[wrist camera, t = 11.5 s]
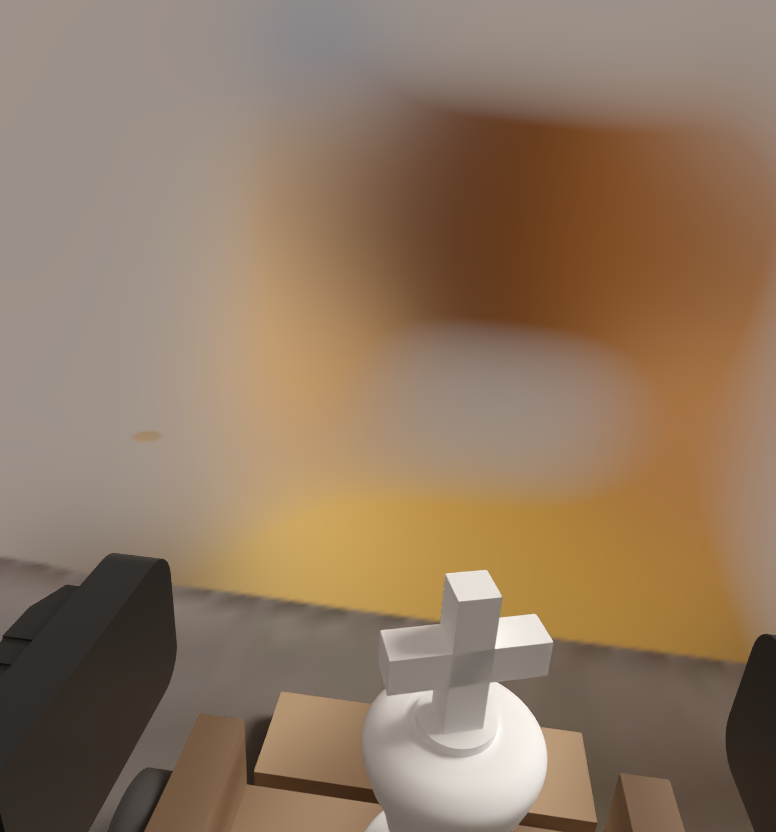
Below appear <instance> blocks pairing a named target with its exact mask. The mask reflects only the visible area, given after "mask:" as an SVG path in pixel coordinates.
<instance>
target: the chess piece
mask: <svg viewBox="0 0 776 832" xmlns="http://www.w3.org/2000/svg"><path fill="white" fill-rule="evenodd" d="M501 604H502V596H501V594H500V592H499V590H498V589H497V587H496V585H495V583H494V582H493V580H492V578H491V576H490V575H489V573H488V571H487V570H480V571H469V572H458V573H447V574H445V582H444V591H443V601H442V611H441V620H440V624H437V625H427V626H418V627H409V628H399V629H390V630H381V631H380V645H379V661H378V665H379V668H380V672H381V675H382V679H383V682H384V686H385V689H384V690H383V691H382V692H381V693H380V694H379V695H378V697H377V698H376V699H375V700H374V702H373V703H372V705H371V707H370V708H369V710H368V712H367V715H366V717H365V720H364V724H363V729H362V737H361V746H362V756H363V761H364V765H365V769H366V772H367V775H368V778H369V781H370V784H371V786H372V789H373V792H374V794H375V797H376V799H377V801H378V802H379V804H380V806H381V807H382V809H383V811H382V812H381V813H380V814H379V815H377V816H376V817H375V819H374V820H373V821H372V822H371V823H370V825H369V826H368V827H367V829H366V831H365V832H511V831H513V830H514V829H515V828H516V827H517V825H518V824H519V823H520V822H521V821H522V819H523V818H524V817H525V815H526V814H527V813H528V812H529V810H530V809H531V807H532V806H533V804H534V803H535V801H536V799H537V797H538V796H539V794H540V791H541V789H542V787H543V784H544V781H545V777H546V771H547V749H546V743H545V740H544V736H543V733H542V731H541V729H540V726H539V724H538V722H537V721H536V719H535V717H534V716H533V714H532V713H531V712H530V710H529V709H528V708H527V706H526V705H525V704H524V703H523V702H522V701H521V700H520V699H519V698H518V697H517V696H516V695H514V694H513V693H512V692H511V691H509V690H508V689H507V688H505V687H504V686H502V685H500V684H499V683H497V682H500V681H508V680H516V679H524V678H531V677H539V676H547V674H548V669H549V663H550V658H551V653H552V648H553V641H552V639H551V637H550V636H549V634H548V633H547V631H546V629H545V628H544V626H543V625H542V623H541V621H540V620H539V618H538V617H537V615H536V614H530V615H522V616H511V617H502V618H500V611H501Z"/></svg>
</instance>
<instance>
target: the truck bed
mask: <svg viewBox="0 0 776 832" xmlns="http://www.w3.org/2000/svg"><path fill="white" fill-rule="evenodd" d="M371 705H372V704H367V703H360V702H353V701H346V700H338V699H331V698H324V697H316V696H309V695H302V694H294V693H287V692H281V694H280V697H279V700H278V703H277V706H276V709H275V712H274V715H273V718H272V720H271V723H270V726H269V729H268V732H267V735H266V738H265V741H264V744H263V746H262V749H261V752H260V755H259V758H258V761H257V764H256V767H255V769H254V785H248V784H247V771H246V745H245V720H242V719H235V718H228V717H221V716H214V715H207V714H200V715H199V717H198V719H197V721H196V723H195V726H194V728H193V730H192V732H191V734H190V736H189V738H188V740H187V742H186V745H185V747H184V749H183V751H182V753H181V755H180V757H179V759H178V761H177V764H176V766H175V768H174V770H173V771H169V770H163V769H156V768H146V769H143V770H142V771H141V772H140V773H139V774H138V775H137V776H136V777H135V778H134V779H133V781H132V782H131V783H130V785H129V787H128V788H127V790H126V791H125V793H124V795H123V797H122V799H121V801H120V803H119V805H118V807H117V809H116V811H115V814H114V816H113V819H112V821H111V824H110V826H109V829H108V832H365V831H366V829H367V827H368V826H369V825H370V823H371V822H372V821H373V820H374V819H375V817H376V816H377V815H379V814H380V813H381V812H382V811H383V809H382V807H381V806H380V804H379V802H378V801H377V799H376V797H375V794H374V792H373V789H372V786H371V784H370V781H369V778H368V775H367V772H366V769H365V765H364V761H363V756H362V746H361V737H362V729H363V724H364V720H365V717H366V715H367V712H368V710H369V708H370V707H371ZM540 729H541V731H542V733H543V736H544V740H545V743H546V749H547V771H546V777H545V781H544V784H543V787H542V789H541V791H540V794H539V796H538V797H537V799H536V801H535V803H534V804H533V806H532V807H531V809H530V810H529V812H528V813H527V814H526V815H525V817H524V818H523V819H522V821H521V822H520V823H519V824H518V825H517V827H516V828H515V829H514V830H513V831H511V832H595V829H596V825H597V819H596V813H595V807H594V802H593V796H592V790H591V784H590V779H589V773H588V767H587V761H586V756H585V750H584V744H583V738H582V733H579V732H572V731H564V730H557V729H550V728H542V727H540ZM604 832H685V830H684V827H683V824H682V820H681V817H680V814H679V810H678V807H677V803H676V800H675V797H674V793H673V790H672V787H671V783H670V780H666V779H659V778H652V777H645V776H638V775H631V774H623V773H620V775H619V778H618V782H617V786H616V790H615V793H614V797H613V801H612V804H611V808H610V812H609V816H608V819H607V823H606V827H605V830H604Z"/></svg>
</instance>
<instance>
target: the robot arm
mask: <svg viewBox="0 0 776 832" xmlns="http://www.w3.org/2000/svg"><path fill="white" fill-rule="evenodd" d="M176 651H177V641H176V630H175V618H174V606H173V595H172V583H171V573H170V567H169V565H168V562H167V561H166V560H164V559H159V558H151V557H142V556H134V555H125V554H118V553H112V554H109V555H107V556H106V557H105V558H104V559H103V560H102V561H101V562H100V563H99V565H98V566H97V567H96V568H95V569H94V570H93V571H92V573H91V574H90V575H89V576H88V577H87V578H86V579H85V581H84V582H83V583H82V584H81V585H80V586H72V585H65V586H63V587H62V588H60V589H58V590H57V591H55V592H54V593H52V594H50V595H49V596H47V597H45V598H44V599H42V600H40V601H39V602H37V603H35V604H34V605H32V606H30V607H29V608H28V609H27V610H26V611H25V612H24V614H23V615H22V616H21V617H20V618H19V619H18V620H17V621H16V622H15V623H14V624H13V625H12V626H11V627H10V628H9V630H8V631H7V632H6V633H5V634H4V635H3V639H2V641H1V642H0V832H88V831H89V829H90V827H91V825H92V824H93V822H94V820H95V818H96V816H97V815H98V813H99V811H100V809H101V807H102V806H103V804H104V802H105V800H106V798H107V797H108V795H109V793H110V791H111V789H112V787H113V786H114V784H115V782H116V780H117V778H118V777H119V775H120V773H121V771H122V769H123V768H124V766H125V764H126V762H127V760H128V759H129V757H130V755H131V753H132V751H133V750H134V748H135V746H136V744H137V742H138V740H139V739H140V737H141V735H142V733H143V731H144V730H145V728H146V726H147V724H148V722H149V721H150V719H151V717H152V715H153V713H154V712H155V710H156V708H157V706H158V704H159V702H160V701H161V699H162V697H163V695H164V693H165V691H166V690H167V687H168V685H169V683H170V680H171V677H172V673H173V670H174V665H175V660H176ZM726 751H727V758H728V763H729V767H730V770H731V773H732V776H733V778H734V781H735V783H736V786H737V788H738V791H739V793H740V796H741V798H742V801H743V803H744V806H745V808H746V811H747V813H748V816H749V819H750V821H751V824H752V826H753V829H754V831H755V832H776V635H770V634H763V635H761V636H760V637H758V638H757V640H756V641H755V643H754V645H753V648H752V650H751V653H750V656H749V659H748V662H747V665H746V668H745V671H744V674H743V677H742V679H741V682H740V685H739V688H738V691H737V694H736V697H735V700H734V703H733V706H732V709H731V711H730V714H729V718H728V721H727V727H726Z"/></svg>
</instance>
